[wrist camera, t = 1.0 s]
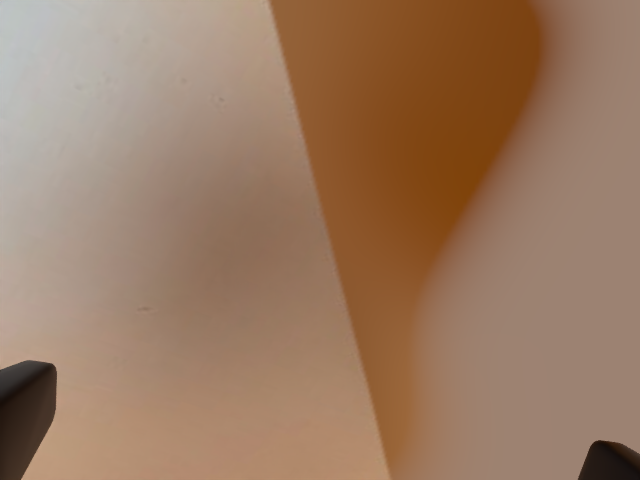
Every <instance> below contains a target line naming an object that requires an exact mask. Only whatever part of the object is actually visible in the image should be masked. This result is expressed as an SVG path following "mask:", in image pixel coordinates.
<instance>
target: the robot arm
mask: <svg viewBox="0 0 640 480" xmlns="http://www.w3.org/2000/svg"><path fill="white" fill-rule="evenodd" d="M56 386H57V371H56V367H55V366H54V365H53V364H52V363H46V362H39V361H32V360H27V361H24V362H21V363H18V364H15V365H12V366H10V367H7V368H4V369H1V370H0V480H21V478H22V477H23V475H24V473H25V471H26V469H27V468H28V466H29V464H30V462H31V460H32V458H33V457H34V455H35V453H36V451H37V449H38V447H39V446H40V444H41V442H42V440H43V438H44V437H45V435H46V433H47V431H48V429H49V427H50V426H51V423H52V421H53V418H54V415H55V410H56ZM578 480H640V454H639V453H637V452H635V451H633V450H631V449H630V448H628V447H627V446H625V445H623V444H620V443H616V442H609V441H601V440H598V441H595V442H594V443H593V444H592V445H591V447H590V449H589V451H588V454H587V457H586V459H585V462H584V465H583V467H582V470H581V472H580V475H579V478H578Z"/></svg>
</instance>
